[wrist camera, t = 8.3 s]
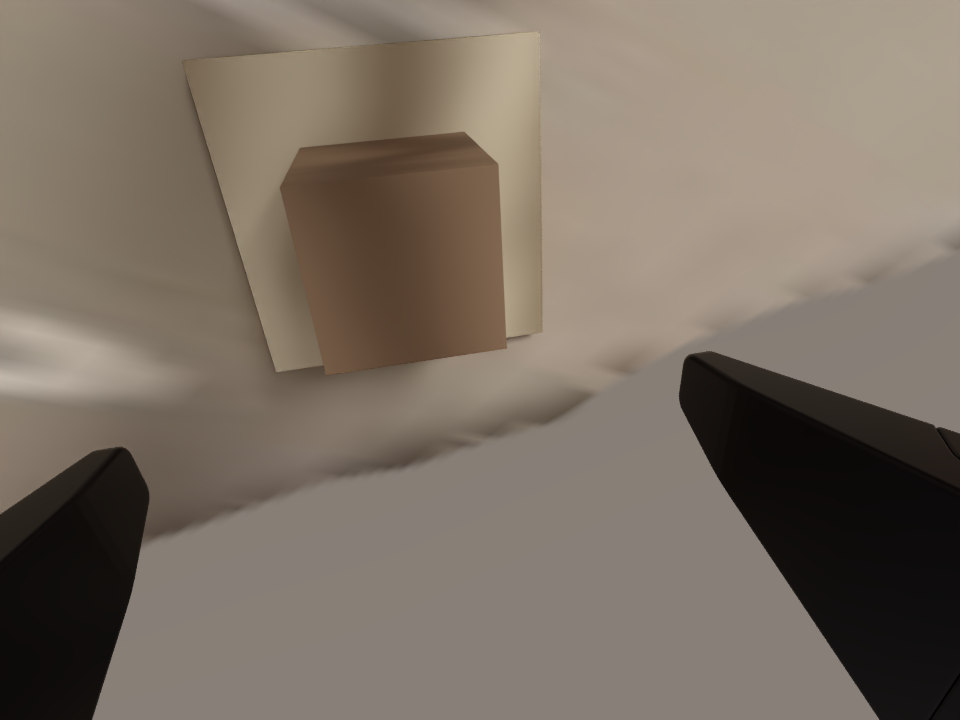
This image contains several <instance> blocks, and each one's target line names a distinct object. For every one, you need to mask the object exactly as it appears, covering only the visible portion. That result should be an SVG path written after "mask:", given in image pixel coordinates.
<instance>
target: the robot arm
mask: <svg viewBox="0 0 960 720" xmlns="http://www.w3.org/2000/svg"><path fill="white" fill-rule="evenodd" d="M679 401H680V405H681V408H682V410H683V412H684V414H685V416H686V418H687V420H688V422H689V424H690V426H691V428H692V430H693V432H694V433H695V435H696V437H697V439H698V441H699V443H700V445H701V447H702V449H703V451H704V453H705V455H706V457H707V459H708V460H709V462H710V464H711V466H712V468H713V470H714V472H715V473H716V475H717V477H718V478H719V480H720V482H721V484H722V485H723V487H724V488H725V490H726V491H727V493H728V494H729V496H730V497H731V499H732V500H733V502H734V503H735V505H736V506H737V508H738V509H739V511H740V512H741V514H742V515H743V517H744V518H745V520H746V521H747V523H748V524H749V526H750V527H751V529H752V530H753V532H754V533H755V535H756V536H757V538H758V539H759V541H760V542H761V544H762V545H763V547H764V548H765V549H766V551H767V552H768V554H769V556H770V557H771V558H772V560H773V562H774V563H775V564H776V566H777V567H778V569H779V571H780V572H781V573H782V575H783V576H784V578H785V579H786V581H787V582H788V584H789V585H790V587H791V588H792V590H793V591H794V593H795V594H796V596H797V597H798V599H799V600H800V602H801V603H802V605H803V606H804V608H805V609H806V611H807V612H808V614H809V615H810V617H811V618H812V620H813V621H814V622H815V624H816V626H817V627H818V629H819V630H820V632H821V633H822V635H823V636H824V637H825V639H826V640H827V642H828V644H829V645H830V647H831V648H832V649H833V651H834V653H835V654H836V655H837V657H838V658H839V660H840V662H841V663H842V664H843V666H844V667H845V669H846V670H847V672H848V673H849V675H850V676H851V678H852V679H853V681H854V682H855V684H856V685H857V687H858V688H859V690H860V691H861V693H862V694H863V696H864V697H865V699H866V700H867V702H868V703H869V705H870V706H871V708H872V709H873V711H874V712H875V714H876V715H877V717H878V718H879V720H960V434H959V433H957V432H954V431H951V430H948V429H945V428H941V427H938V428H935V426H934V425H932V424H929V423H926V422H923V421H920V420H917V419H914V418H911V417H908V416H905V415H902V414H899V413H896V412H893V411H890V410H887V409H884V408H881V407H878V406H875V405H872V404H869V403H866V402H863V401H860V400H857V399H854V398H851V397H848V396H845V395H842V394H839V393H835V392H833V391H829V390H826V389H824V388H821V387H817V386H815V385H812V384H809V383H806V382H803V381H800V380H797V379H793V378H790V377H787V376H784V375H781V374H778V373H775V372H772V371H769V370H766V369H763V368H760V367H757V366H754V365H751V364H748V363H745V362H742V361H739V360H736V359H733V358H730V357H727V356H724V355H721V354H718V353H715V352H712V351H706V352H701V353H695V354H690V355H688V356H687V357H686V358H685V360H684V364H683V370H682V377H681V384H680V391H679ZM148 505H149V490H148V487H147V484H146V482H145V480H144V478H143V477H142V475H141V473H140V471H139V469H138V467H137V465H136V463H135V461H134V459H133V457H132V455H131V453H130V452H129V451H128V450H127V449H126V448H123V447H115V448H108V449H102V450H96V451H93V452H91V453H90V454H88V455H87V456H85V457H84V458H82V459H81V460H79V461H78V462H76V463H75V464H74V465H72V466H71V467H69V468H68V469H66V470H65V471H63V472H62V473H60V474H59V475H57V476H56V477H54V478H53V479H51V480H50V481H49V482H47V483H46V484H44V485H43V486H41V487H40V488H38V489H37V490H35V491H34V492H32V493H31V494H29V495H28V496H26V497H25V498H24V499H22V500H21V501H19V502H18V503H16V504H15V505H13V506H12V507H10V508H9V509H7V510H6V511H4V512H3V513H1V514H0V720H92V718H93V715H94V712H95V709H96V705H97V702H98V699H99V696H100V693H101V690H102V686H103V683H104V680H105V677H106V674H107V670H108V667H109V664H110V661H111V657H112V654H113V651H114V648H115V645H116V642H117V639H118V635H119V632H120V629H121V626H122V623H123V619H124V616H125V613H126V610H127V606H128V603H129V599H130V596H131V592H132V587H133V583H134V579H135V574H136V569H137V563H138V558H139V553H140V548H141V542H142V537H143V532H144V526H145V521H146V516H147V511H148Z"/></svg>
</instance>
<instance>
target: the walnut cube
mask: <svg viewBox="0 0 960 720" xmlns="http://www.w3.org/2000/svg"><path fill="white" fill-rule="evenodd" d="M280 191H281V195H282V199H283V203H284V207H285V211H286V216H287V220H288V224H289V228H290V232H291V236H292V240H293V244H294V248H295V252H296V256H297V260H298V264H299V268H300V272H301V277H302V281H303V285H304V289H305V293H306V297H307V301H308V305H309V309H310V313H311V317H312V321H313V325H314V329H315V334H316V338H317V342H318V346H319V350H320V354H321V358H322V362H323V366H324V370H325V374H326V375H332V374H339V373H346V372H352V371H359V370H366V369H372V368H379V367H386V366H392V365H399V364H406V363H413V362H419V361H426V360H433V359H439V358H446V357H453V356H459V355H466V354H473V353H479V352H486V351H493V350H500V349H506V348H507V345H506V322H505V300H504V277H503V254H502V232H501V209H500V187H499V164H498V163H497V162H496V161H495V160H494V159H493V158H492V157H491V156H490V155H488V154H487V153H486V152H485V151H484V150H483V149H482V148H481V147H480V146H479V145H478V144H477V143H476V142H475V141H474V140H473V139H472V138H471V137H470V136H469V135H467V134H466V133H465V132H455V133H445V134H435V135H424V136H414V137H404V138H394V139H384V140H374V141H364V142H353V143H343V144H333V145H323V146H313V147H303V148H299V150H298V152H297V154H296V156H295V158H294V160H293V162H292V164H291V166H290V168H289V170H288V172H287V174H286V176H285V178H284V180H283V182H282V184H281V186H280Z"/></svg>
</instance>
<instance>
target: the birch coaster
mask: <svg viewBox="0 0 960 720" xmlns="http://www.w3.org/2000/svg"><path fill="white" fill-rule="evenodd" d="M182 64H183V67H184V70H185V74H186V77H187V80H188V83H189V87H190V90H191V93H192V97H193V100H194V103H195V106H196V110H197V113H198V116H199V120H200V123H201V126H202V129H203V133H204V136H205V139H206V143H207V146H208V149H209V152H210V156H211V159H212V162H213V166H214V169H215V172H216V175H217V179H218V182H219V185H220V189H221V192H222V195H223V198H224V202H225V205H226V208H227V212H228V215H229V218H230V222H231V225H232V228H233V231H234V235H235V238H236V241H237V245H238V248H239V251H240V254H241V258H242V261H243V264H244V268H245V271H246V274H247V277H248V281H249V284H250V287H251V291H252V294H253V297H254V300H255V304H256V307H257V310H258V314H259V317H260V320H261V323H262V327H263V330H264V333H265V337H266V340H267V343H268V346H269V350H270V353H271V356H272V360H273V363H274V366H275V369H276V372H282V371H289V370H295V369H302V368H309V367H315V366H322V365H323V362H322V358H321V354H320V350H319V346H318V342H317V338H316V334H315V329H314V325H313V321H312V317H311V313H310V309H309V305H308V301H307V297H306V293H305V289H304V285H303V281H302V277H301V272H300V268H299V264H298V260H297V256H296V252H295V248H294V244H293V240H292V236H291V232H290V228H289V224H288V220H287V216H286V211H285V207H284V203H283V199H282V195H281V191H280V186H281V184H282V182H283V180H284V178H285V176H286V174H287V172H288V170H289V168H290V166H291V164H292V162H293V160H294V158H295V156H296V154H297V152H298V150H299V148H303V147H313V146H323V145H333V144H343V143H353V142H364V141H374V140H384V139H394V138H404V137H414V136H424V135H435V134H445V133H455V132H465V133H466V134H467V135H469V136H470V137H471V138H472V139H473V140H474V141H475V142H476V143H477V144H478V145H479V146H480V147H481V148H482V149H483V150H484V151H485V152H486V153H487V154H488V155H490V156H491V157H492V158H493V159H494V160H495V161H496V162H497V163H498V164H499V187H500V209H501V232H502V254H503V277H504V300H505V322H506V338H508V337H515V336H521V335H528V334H535V333H541V332H543V326H542V225H541V124H540V32H524V33H512V34H500V35H487V36H475V37H463V38H451V39H438V40H426V41H414V42H401V43H389V44H377V45H365V46H352V47H340V48H328V49H315V50H303V51H291V52H279V53H266V54H254V55H242V56H230V57H217V58H205V59H193V60H185V61H182Z"/></svg>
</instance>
